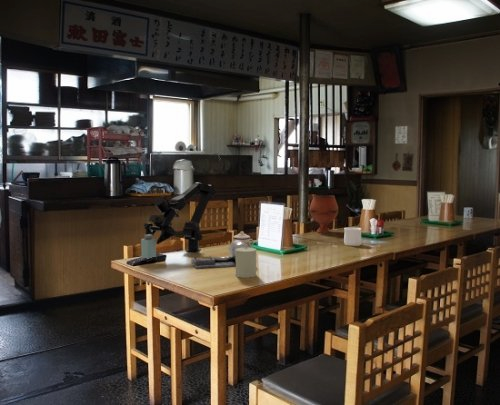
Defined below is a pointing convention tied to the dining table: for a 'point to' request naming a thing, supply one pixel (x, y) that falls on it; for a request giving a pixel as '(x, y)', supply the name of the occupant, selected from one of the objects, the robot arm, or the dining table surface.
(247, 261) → the can
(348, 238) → the cup
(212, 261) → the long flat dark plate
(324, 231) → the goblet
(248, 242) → the teacup with lid
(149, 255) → the pale teal bottle
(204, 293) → the dining table surface
